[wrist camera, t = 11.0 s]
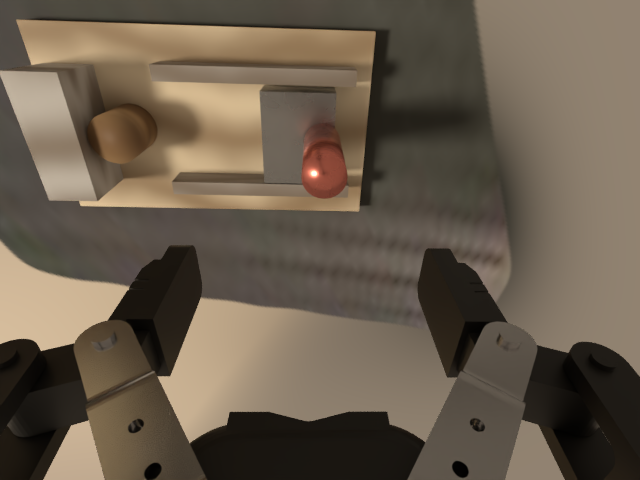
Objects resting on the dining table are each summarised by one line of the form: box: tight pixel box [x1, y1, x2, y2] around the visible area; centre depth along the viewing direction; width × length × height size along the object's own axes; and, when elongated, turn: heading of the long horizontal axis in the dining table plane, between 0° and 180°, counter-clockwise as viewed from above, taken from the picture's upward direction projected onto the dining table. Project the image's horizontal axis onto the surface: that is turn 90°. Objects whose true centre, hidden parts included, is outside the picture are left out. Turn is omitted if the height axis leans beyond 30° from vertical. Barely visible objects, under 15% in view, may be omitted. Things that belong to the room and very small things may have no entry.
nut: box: [87, 103, 158, 164], centre depth 31 cm, size 4×4×4 cm
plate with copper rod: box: [259, 85, 348, 199], centre depth 28 cm, size 8×6×11 cm
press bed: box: [0, 20, 376, 211], centre depth 31 cm, size 16×28×6 cm, turn 88°
